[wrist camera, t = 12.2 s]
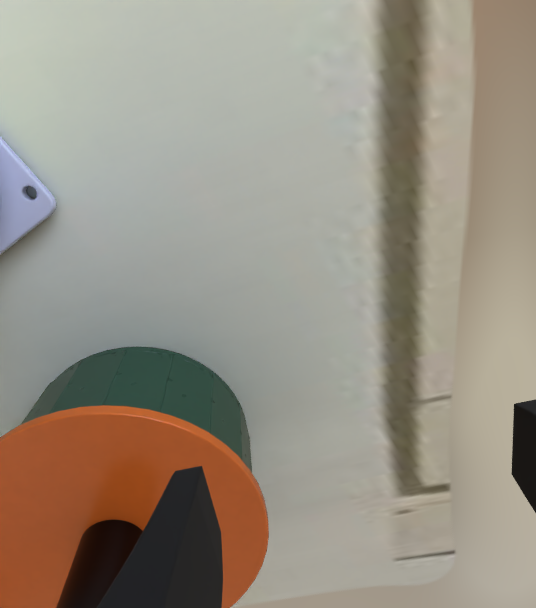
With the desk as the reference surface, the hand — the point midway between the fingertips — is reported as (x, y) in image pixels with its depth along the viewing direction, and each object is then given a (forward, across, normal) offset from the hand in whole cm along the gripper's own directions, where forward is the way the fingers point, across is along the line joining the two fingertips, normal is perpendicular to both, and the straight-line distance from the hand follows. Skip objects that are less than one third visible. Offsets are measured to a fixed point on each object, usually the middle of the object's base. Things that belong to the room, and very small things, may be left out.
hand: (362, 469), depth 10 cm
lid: (+5, +8, +5) cm, 11 cm away
